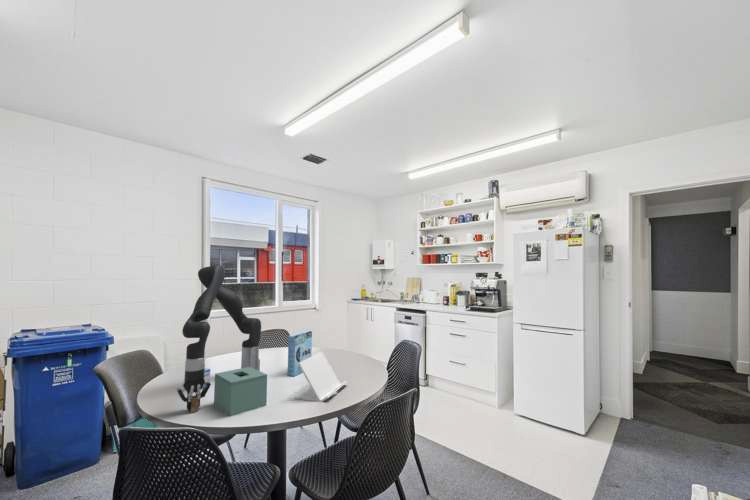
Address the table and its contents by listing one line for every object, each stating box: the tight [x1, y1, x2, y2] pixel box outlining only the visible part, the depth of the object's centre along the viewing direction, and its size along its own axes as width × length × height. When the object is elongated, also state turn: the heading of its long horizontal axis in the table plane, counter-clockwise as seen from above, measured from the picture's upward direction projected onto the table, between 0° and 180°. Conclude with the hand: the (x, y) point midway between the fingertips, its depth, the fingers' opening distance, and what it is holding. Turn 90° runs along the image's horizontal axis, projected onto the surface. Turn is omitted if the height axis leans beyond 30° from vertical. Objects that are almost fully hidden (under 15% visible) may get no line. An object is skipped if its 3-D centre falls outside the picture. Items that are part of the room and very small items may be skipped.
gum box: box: [287, 330, 313, 377], centre depth 202 cm, size 20×5×23 cm, turn 160°
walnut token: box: [189, 394, 199, 414], centre depth 143 cm, size 2×5×6 cm, turn 46°
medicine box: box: [200, 368, 211, 391], centre depth 173 cm, size 8×4×9 cm, turn 168°
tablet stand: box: [293, 351, 348, 403], centre depth 168 cm, size 18×25×17 cm
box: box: [213, 367, 268, 417], centre depth 150 cm, size 16×18×14 cm
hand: (193, 409), depth 143 cm, fingers closed on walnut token, 2 cm apart
